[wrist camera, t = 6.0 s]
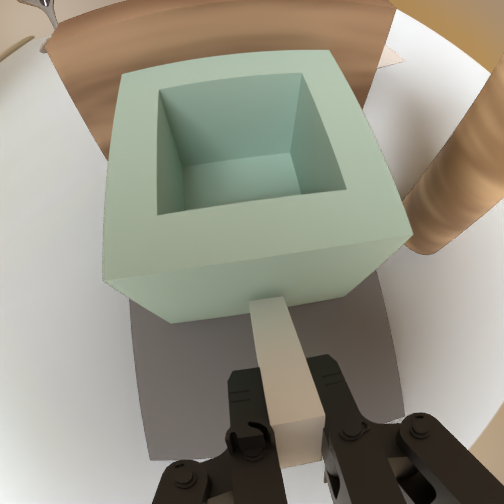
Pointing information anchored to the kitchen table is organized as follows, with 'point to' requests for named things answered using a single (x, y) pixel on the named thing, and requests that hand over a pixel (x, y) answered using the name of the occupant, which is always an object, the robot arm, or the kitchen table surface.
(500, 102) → the dowel
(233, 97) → the mint green square pot
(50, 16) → the wine glass
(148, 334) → the mat
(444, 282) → the kitchen table surface
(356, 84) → the wall
